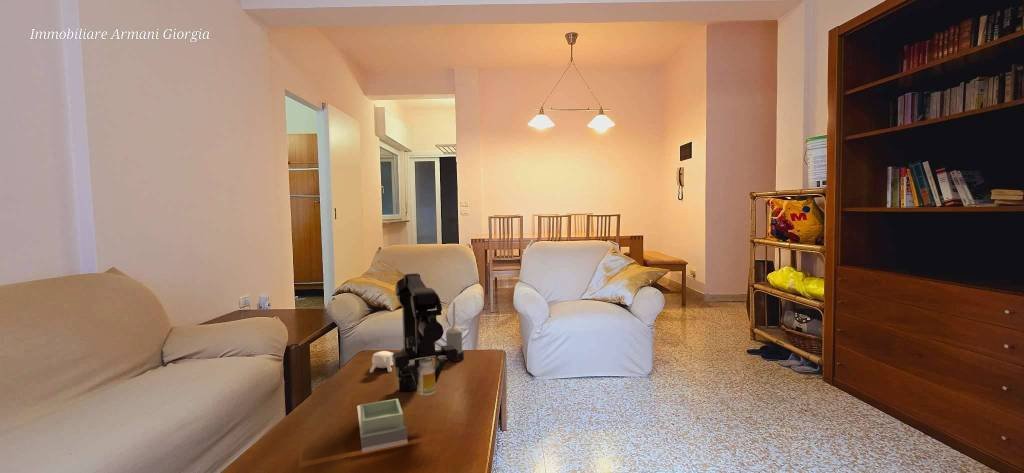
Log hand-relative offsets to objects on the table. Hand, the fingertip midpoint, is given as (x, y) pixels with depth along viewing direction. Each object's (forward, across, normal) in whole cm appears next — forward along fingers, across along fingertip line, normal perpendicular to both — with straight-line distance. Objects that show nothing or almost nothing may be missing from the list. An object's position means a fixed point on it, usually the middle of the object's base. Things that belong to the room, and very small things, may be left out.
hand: (426, 383), depth 131 cm
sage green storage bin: (+12, +13, -2) cm, 18 cm away
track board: (+13, +13, -6) cm, 19 cm away
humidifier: (+13, -24, -53) cm, 60 cm away
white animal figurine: (+13, +6, -53) cm, 55 cm away
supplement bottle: (+3, 0, 0) cm, 3 cm away
